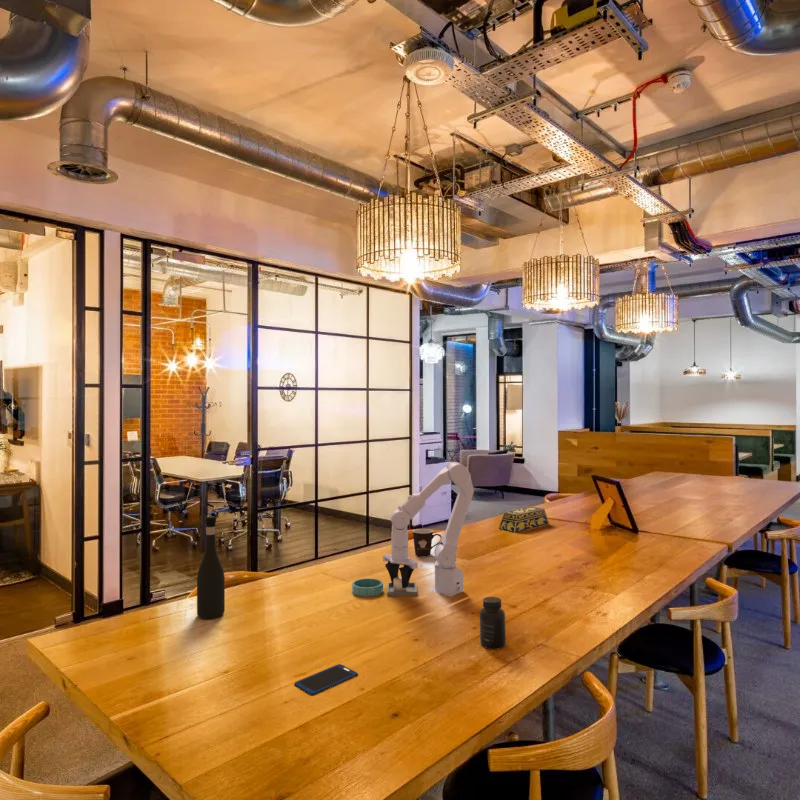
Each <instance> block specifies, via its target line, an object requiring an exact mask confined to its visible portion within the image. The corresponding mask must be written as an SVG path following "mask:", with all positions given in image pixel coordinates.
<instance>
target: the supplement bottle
mask: <svg viewBox="0 0 800 800" xmlns="http://www.w3.org/2000/svg"><path fill="white" fill-rule="evenodd" d="M506 635H507V634H506V613H505V610H504V609H502V599H501V598H500V597H497V596H487V597H484V598H483V600H482V608H481V609H480V610H479V641H480V645H481V646H483V648H486V647H487V649H490V648H492V650H497V648H499V649H502V648H505V645H506V643H507V641H506V640H507V639H506Z"/></svg>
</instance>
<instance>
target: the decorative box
mask: <svg viewBox="0 0 800 800" xmlns="http://www.w3.org/2000/svg"><path fill="white" fill-rule="evenodd" d="M501 517H502V518H501V520H500V524H499V526H498V529H500V530H499V531H503V530H504V531H503V532H507V531H508V533H513V534H518V533H521V531H522V532H525V530H526V531H529V530H533V528H534V529H537V527H538V528H541V527H545V526H549V525H550V521H549V519H548V516H547V513H546V510H545V508H543V507H536V506H531V505H530V506H525V507H521V508H516V509H511V510H507V511H504V512H503V513H502V516H501ZM517 532H518V533H517Z"/></svg>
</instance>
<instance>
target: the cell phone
mask: <svg viewBox="0 0 800 800" xmlns="http://www.w3.org/2000/svg"><path fill="white" fill-rule="evenodd" d="M354 676H356V677H357V676H359V673H358V672H357V671H355V670H354V669H351V668H350V667H347V666H345V665H344V664H341V663H338V664H336V665H333V666H330V667H328V668H326V669H323V670H321V671H319V672H316V673H314V674H311V675H309V676H307V677H306V676H305V678H301V679H300V680H297V681H295V682H294V684H293V685H294V686H295V687H296V686H297V687H298V688H297V687H296V688H297V689H299V688H300V691H302V690H303V691H302V692H304V691H305V692H304V693H305V694H307V693H308V694H307V695H309V694H310V695H309V696H315V695H317V693H318V694H319V692H320V693H322V692H324V690H325V691H326V689H327V690H329V689H331V688H333V687H335V685H336V686H338V685H340V684H342V683H344V682H343V681H345V682H347V681H349V680H351V679H353V678H352V677H354ZM350 678H351V679H350ZM354 678H355V677H354ZM348 679H349V680H348ZM346 680H347V681H346ZM341 682H342V683H341ZM339 683H340V684H339ZM337 684H338V685H337ZM332 686H333V687H332ZM330 687H331V688H330ZM328 688H329V689H328ZM314 694H315V695H314Z"/></svg>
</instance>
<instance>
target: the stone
mask: <svg viewBox="0 0 800 800" xmlns="http://www.w3.org/2000/svg"><path fill="white" fill-rule="evenodd" d="M393 591H394V592H399V591H406V588H402V578H401V576H398V577H395V578H393Z"/></svg>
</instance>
